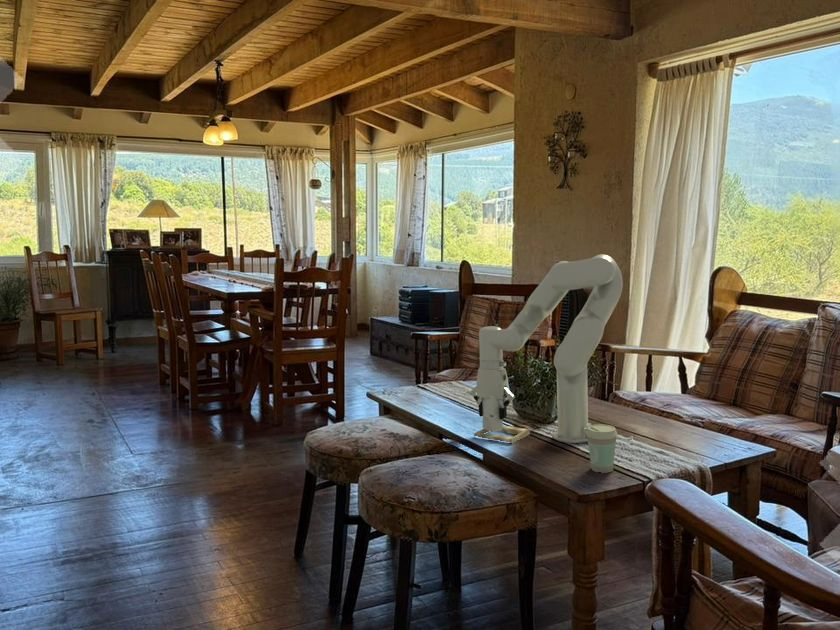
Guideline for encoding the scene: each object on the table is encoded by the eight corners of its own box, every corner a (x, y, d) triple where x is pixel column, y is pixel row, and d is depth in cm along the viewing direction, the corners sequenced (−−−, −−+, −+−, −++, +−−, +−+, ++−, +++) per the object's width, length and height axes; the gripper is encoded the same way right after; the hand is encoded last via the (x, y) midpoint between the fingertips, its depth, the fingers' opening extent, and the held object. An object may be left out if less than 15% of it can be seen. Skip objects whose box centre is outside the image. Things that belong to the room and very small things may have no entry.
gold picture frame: (529, 434, 238) (529, 429, 238) (512, 444, 228) (511, 439, 228) (492, 428, 246) (492, 424, 246) (474, 438, 237) (474, 433, 236)
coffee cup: (587, 463, 208) (586, 423, 206) (618, 465, 205) (617, 424, 204) (585, 474, 200) (584, 432, 198) (617, 475, 197) (616, 433, 196)
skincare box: (482, 428, 240) (480, 393, 239) (492, 426, 243) (491, 391, 241) (493, 433, 235) (492, 396, 233) (504, 430, 237) (503, 394, 236)
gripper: (520, 364, 234) (521, 418, 236) (474, 359, 244) (476, 411, 246) (509, 369, 228) (510, 423, 230) (462, 364, 238) (464, 416, 240)
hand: (492, 416), depth 238 cm, fingers closed on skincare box, 7 cm apart
